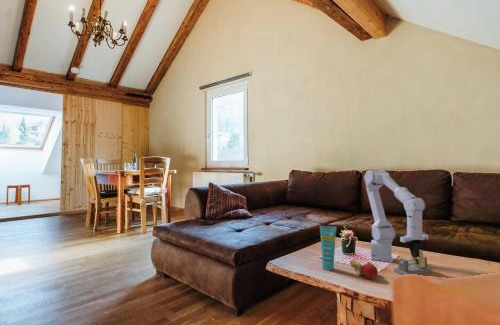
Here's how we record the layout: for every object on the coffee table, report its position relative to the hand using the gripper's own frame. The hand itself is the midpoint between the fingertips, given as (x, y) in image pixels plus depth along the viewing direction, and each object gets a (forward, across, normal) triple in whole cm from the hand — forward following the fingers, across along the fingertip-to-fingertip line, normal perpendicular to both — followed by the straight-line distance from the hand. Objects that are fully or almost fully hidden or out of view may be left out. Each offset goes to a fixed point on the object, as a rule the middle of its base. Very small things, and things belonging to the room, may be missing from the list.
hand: (414, 257), depth 127 cm
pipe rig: (+6, -1, 0) cm, 6 cm away
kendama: (+7, -22, +8) cm, 24 cm away
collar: (+4, +2, 0) cm, 5 cm away
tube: (+7, -33, +17) cm, 37 cm away
